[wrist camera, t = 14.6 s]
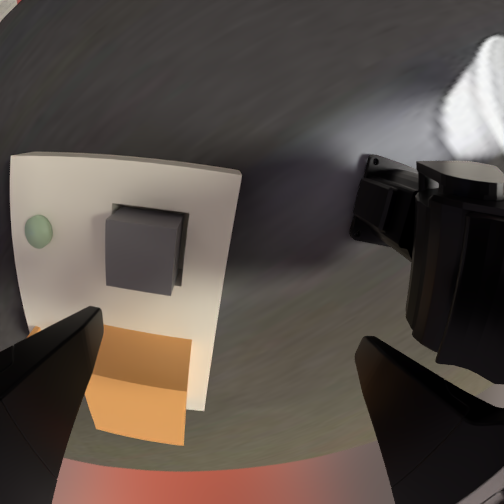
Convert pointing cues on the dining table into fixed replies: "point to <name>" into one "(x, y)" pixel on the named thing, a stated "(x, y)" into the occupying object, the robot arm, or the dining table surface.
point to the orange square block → (140, 385)
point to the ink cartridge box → (7, 7)
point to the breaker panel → (93, 244)
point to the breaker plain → (143, 250)
